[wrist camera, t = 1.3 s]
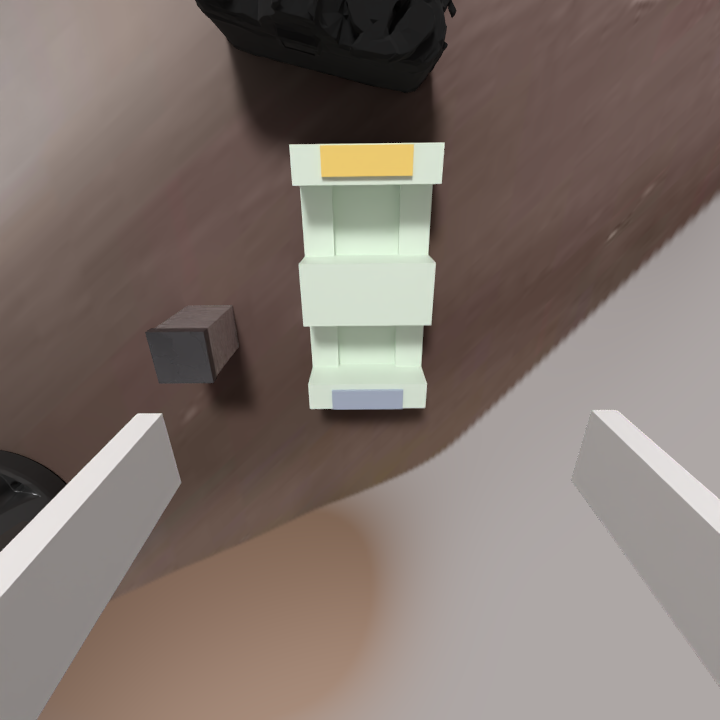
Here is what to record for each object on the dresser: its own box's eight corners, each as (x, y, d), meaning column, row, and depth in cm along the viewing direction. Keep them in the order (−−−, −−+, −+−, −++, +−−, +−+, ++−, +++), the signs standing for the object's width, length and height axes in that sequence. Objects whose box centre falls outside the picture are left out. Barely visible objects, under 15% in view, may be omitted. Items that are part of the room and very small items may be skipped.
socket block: (315, 383, 37) (309, 410, 32) (299, 150, 28) (288, 144, 24) (417, 382, 37) (425, 409, 32) (432, 149, 28) (445, 141, 24)
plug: (195, 347, 35) (159, 383, 29) (186, 304, 33) (145, 332, 27) (240, 347, 35) (213, 382, 29) (233, 304, 33) (203, 331, 27)
